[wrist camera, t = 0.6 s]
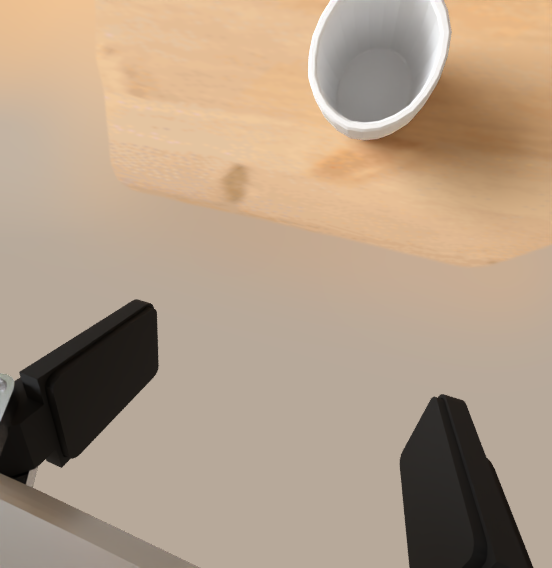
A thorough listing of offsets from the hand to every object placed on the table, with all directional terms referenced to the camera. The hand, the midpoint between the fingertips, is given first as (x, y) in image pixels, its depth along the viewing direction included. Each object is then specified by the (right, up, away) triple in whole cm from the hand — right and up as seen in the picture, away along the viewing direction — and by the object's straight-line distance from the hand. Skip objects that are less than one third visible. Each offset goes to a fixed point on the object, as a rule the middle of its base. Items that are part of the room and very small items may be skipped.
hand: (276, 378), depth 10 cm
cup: (+10, +22, +20) cm, 31 cm away
